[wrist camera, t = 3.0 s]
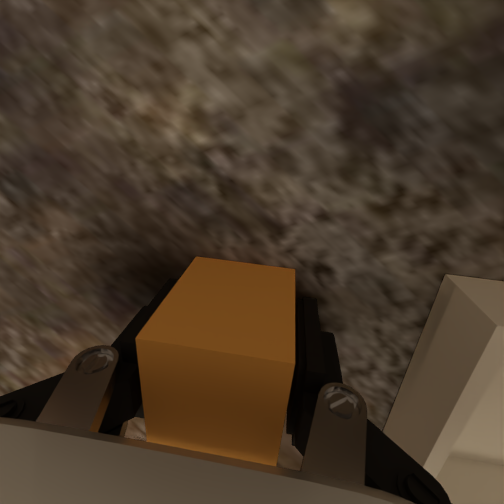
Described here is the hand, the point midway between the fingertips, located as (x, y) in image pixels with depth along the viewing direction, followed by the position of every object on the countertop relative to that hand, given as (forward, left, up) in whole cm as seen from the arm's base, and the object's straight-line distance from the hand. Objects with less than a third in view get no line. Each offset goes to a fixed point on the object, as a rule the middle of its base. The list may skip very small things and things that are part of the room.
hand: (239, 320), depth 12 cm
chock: (0, 0, 0) cm, 0 cm away
